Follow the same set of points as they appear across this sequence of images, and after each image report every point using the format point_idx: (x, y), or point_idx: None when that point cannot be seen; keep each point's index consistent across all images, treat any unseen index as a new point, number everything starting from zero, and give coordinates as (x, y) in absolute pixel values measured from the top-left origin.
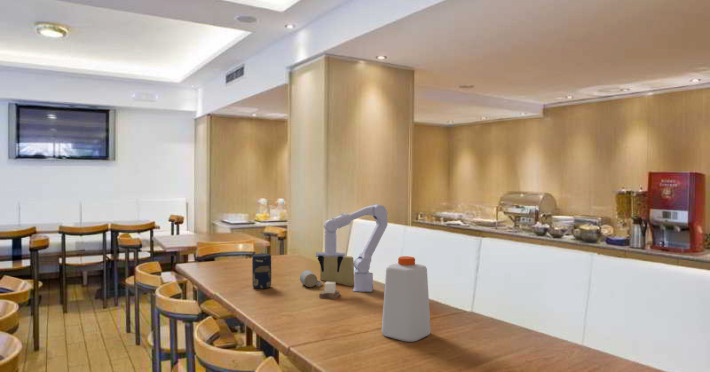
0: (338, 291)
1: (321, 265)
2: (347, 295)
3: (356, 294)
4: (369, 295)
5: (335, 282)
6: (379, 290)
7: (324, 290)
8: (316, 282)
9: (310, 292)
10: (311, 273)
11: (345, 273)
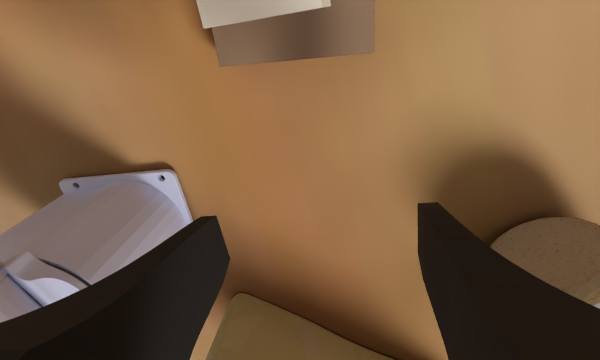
0: None
1: (475, 251)
2: (160, 47)
3: (117, 97)
4: (27, 92)
5: (203, 19)
6: None
7: (354, 24)
8: None
9: (504, 63)
10: None
11: None
